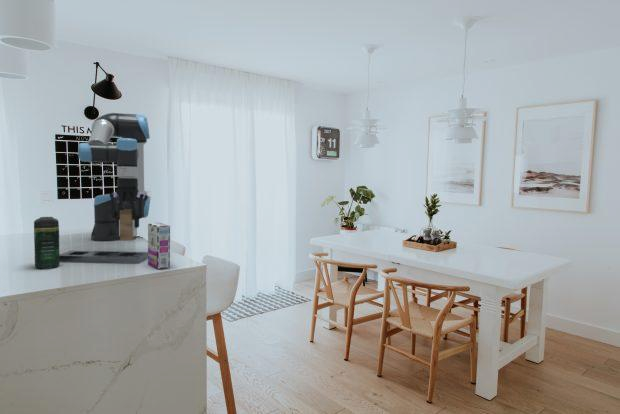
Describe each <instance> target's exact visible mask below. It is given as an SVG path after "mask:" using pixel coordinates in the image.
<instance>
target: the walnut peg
mask: <svg viewBox="0 0 620 414" xmlns="http://www.w3.org/2000/svg"><path fill="white" fill-rule="evenodd" d="M132 220H134V216H133V212H132V210H129V209H124V210H120V239H119V240H120V241H128V242H129V241H130V242H132V241H134V240H136V239H137V235H136V236H132Z"/></svg>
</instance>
